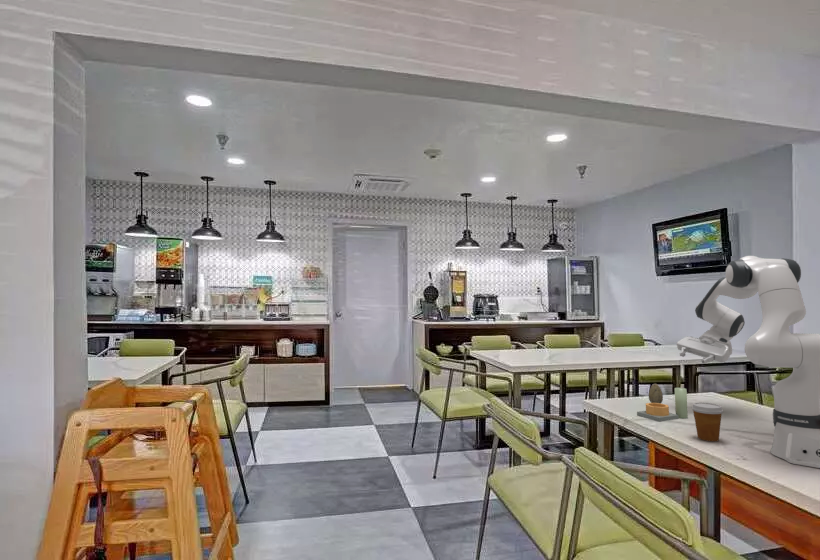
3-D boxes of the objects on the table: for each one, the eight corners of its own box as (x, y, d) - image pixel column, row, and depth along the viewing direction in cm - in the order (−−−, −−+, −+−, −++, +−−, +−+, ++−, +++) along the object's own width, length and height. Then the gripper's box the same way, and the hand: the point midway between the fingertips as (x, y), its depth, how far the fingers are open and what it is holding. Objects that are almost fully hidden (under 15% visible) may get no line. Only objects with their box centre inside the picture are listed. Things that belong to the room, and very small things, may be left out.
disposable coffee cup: (697, 441, 157) (696, 407, 158) (689, 433, 166) (687, 401, 167) (728, 444, 154) (727, 409, 155) (718, 435, 163) (717, 402, 164)
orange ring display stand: (678, 418, 187) (678, 406, 187) (659, 421, 183) (658, 409, 183) (656, 412, 197) (655, 401, 197) (637, 415, 193) (636, 403, 194)
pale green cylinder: (689, 417, 189) (688, 388, 190) (685, 419, 186) (684, 390, 187) (677, 415, 192) (676, 387, 193) (674, 417, 190) (672, 388, 190)
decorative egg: (646, 404, 213) (645, 383, 213) (654, 402, 215) (653, 382, 216) (657, 406, 207) (656, 385, 208) (666, 405, 210) (665, 384, 210)
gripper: (686, 330, 206) (667, 345, 201) (734, 342, 188) (715, 359, 183) (688, 341, 208) (670, 357, 203) (736, 354, 190) (717, 372, 185)
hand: (692, 358), depth 193 cm, fingers open, 8 cm apart
